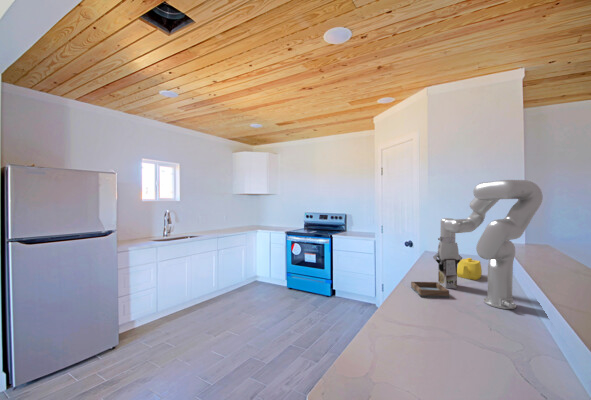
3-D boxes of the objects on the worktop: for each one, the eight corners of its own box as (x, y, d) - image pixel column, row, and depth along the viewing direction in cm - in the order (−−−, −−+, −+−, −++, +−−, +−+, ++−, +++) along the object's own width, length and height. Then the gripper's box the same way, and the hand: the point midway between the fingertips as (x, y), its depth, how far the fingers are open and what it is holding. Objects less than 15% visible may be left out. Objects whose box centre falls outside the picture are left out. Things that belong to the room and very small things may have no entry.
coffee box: (457, 288, 154) (457, 259, 154) (445, 288, 154) (446, 259, 154) (448, 283, 163) (449, 256, 163) (437, 283, 163) (438, 256, 163)
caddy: (449, 297, 140) (449, 290, 140) (420, 297, 141) (420, 290, 141) (436, 288, 154) (436, 282, 154) (411, 287, 155) (411, 281, 155)
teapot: (475, 282, 165) (476, 262, 165) (453, 278, 174) (453, 259, 174) (484, 275, 179) (484, 257, 178) (462, 271, 188) (462, 254, 187)
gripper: (435, 240, 155) (434, 272, 155) (467, 241, 154) (466, 273, 154) (429, 238, 163) (429, 269, 163) (460, 239, 161) (459, 269, 162)
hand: (447, 270), depth 159 cm, fingers closed on coffee box, 6 cm apart
